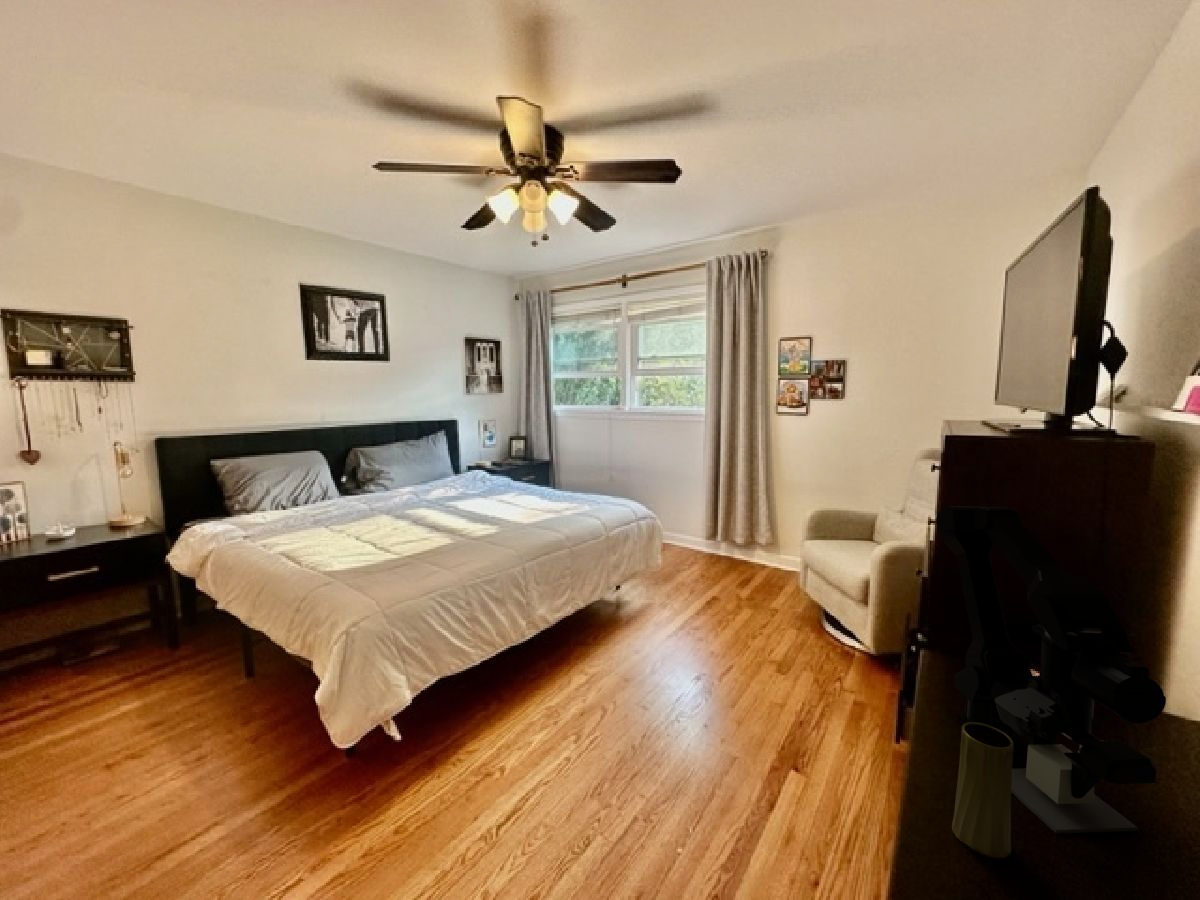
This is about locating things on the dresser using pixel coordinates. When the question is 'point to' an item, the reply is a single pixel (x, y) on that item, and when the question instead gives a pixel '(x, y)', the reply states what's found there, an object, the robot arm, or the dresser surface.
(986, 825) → the vase
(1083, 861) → the dresser surface
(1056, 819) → the mat
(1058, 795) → the cube
